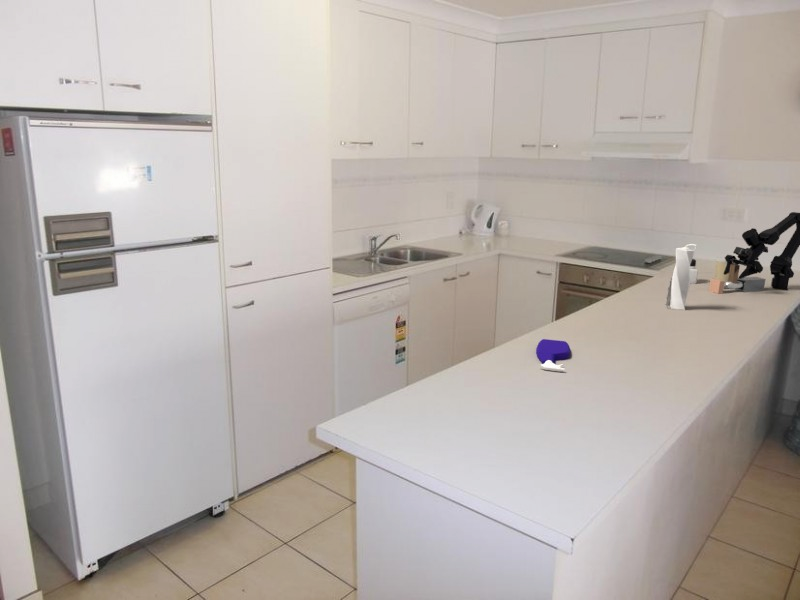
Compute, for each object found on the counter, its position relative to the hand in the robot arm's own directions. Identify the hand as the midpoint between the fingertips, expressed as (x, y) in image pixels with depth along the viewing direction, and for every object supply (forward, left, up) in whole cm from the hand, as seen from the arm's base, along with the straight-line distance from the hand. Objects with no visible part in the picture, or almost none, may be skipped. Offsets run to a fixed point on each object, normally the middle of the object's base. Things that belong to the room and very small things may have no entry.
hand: (731, 276), depth 298 cm
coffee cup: (+2, -24, -8) cm, 25 cm away
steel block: (-9, -8, -7) cm, 14 cm away
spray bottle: (+57, +138, -8) cm, 149 cm away
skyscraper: (+22, +47, -8) cm, 53 cm away
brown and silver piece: (-5, -4, -6) cm, 9 cm away
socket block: (+6, +5, -7) cm, 11 cm away
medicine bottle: (+19, -13, -8) cm, 24 cm away
